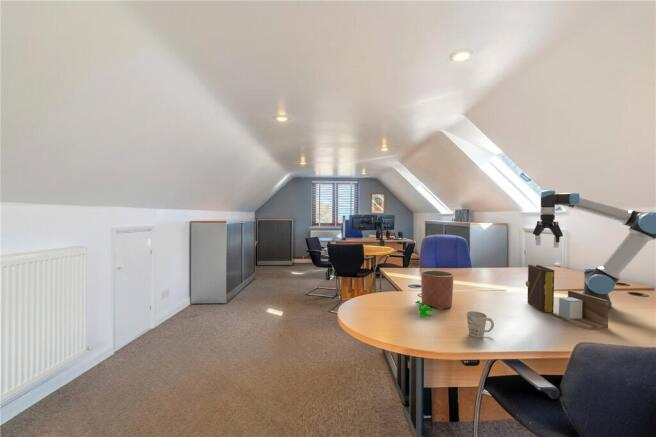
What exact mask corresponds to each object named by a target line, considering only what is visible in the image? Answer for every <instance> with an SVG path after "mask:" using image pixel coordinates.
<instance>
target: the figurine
mask: <svg viewBox="0 0 656 437" xmlns="http://www.w3.org/2000/svg"><path fill="white" fill-rule="evenodd" d="M420 300H421V299H420ZM420 300H417V301H415V304H418V312H419V315H420V318H425V317H433V316H434V314H436V312H435V311H434V310H433V309H432V307H431V306H428V305H426V304H423V306H422V302H421V301H420ZM427 312H430V313H429V314H428V313H427ZM431 313H433V314H431Z"/></svg>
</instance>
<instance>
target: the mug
mask: <svg viewBox="0 0 656 437" xmlns="http://www.w3.org/2000/svg"><path fill="white" fill-rule="evenodd" d="M466 318H467V320H466V321H467V326H468V327H467V328H468V334H469V336H471V337H473V338H476V339H480V338H481V339H482V338H484V337H485V333H490V332H491V331H493V329H494V327H495V323H494V320H493V319H492V318H491V317H488V315H487V314H485V313H483V312H480V311H473V310H472V311H466ZM487 321H489V322H490V328H488V329H487V330H485V329H486V323H487Z"/></svg>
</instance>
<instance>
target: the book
mask: <svg viewBox="0 0 656 437" xmlns="http://www.w3.org/2000/svg"><path fill="white" fill-rule="evenodd" d="M525 286H526V287H527V300H526V302H527V305H528V304H529V305H530V306H531V307H532V308H535V309H536V310H538V311H539V312H541V313H544V314H552V313H554V308H555V307H554V305H555V304H554V302H555V300H554V297H555V269H552V268H549V267H546V266H543V265H541V264H540V265H539V264H536V265H533V264H528V266H527V280H526V281H525Z"/></svg>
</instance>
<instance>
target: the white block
mask: <svg viewBox="0 0 656 437" xmlns="http://www.w3.org/2000/svg"><path fill="white" fill-rule="evenodd" d="M582 305H583V300H579V299H576V298H573V297H568V296H567V297H564V296H563V297H559V298H558V313H559V316H562V317H564V318H567V319H582Z"/></svg>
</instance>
